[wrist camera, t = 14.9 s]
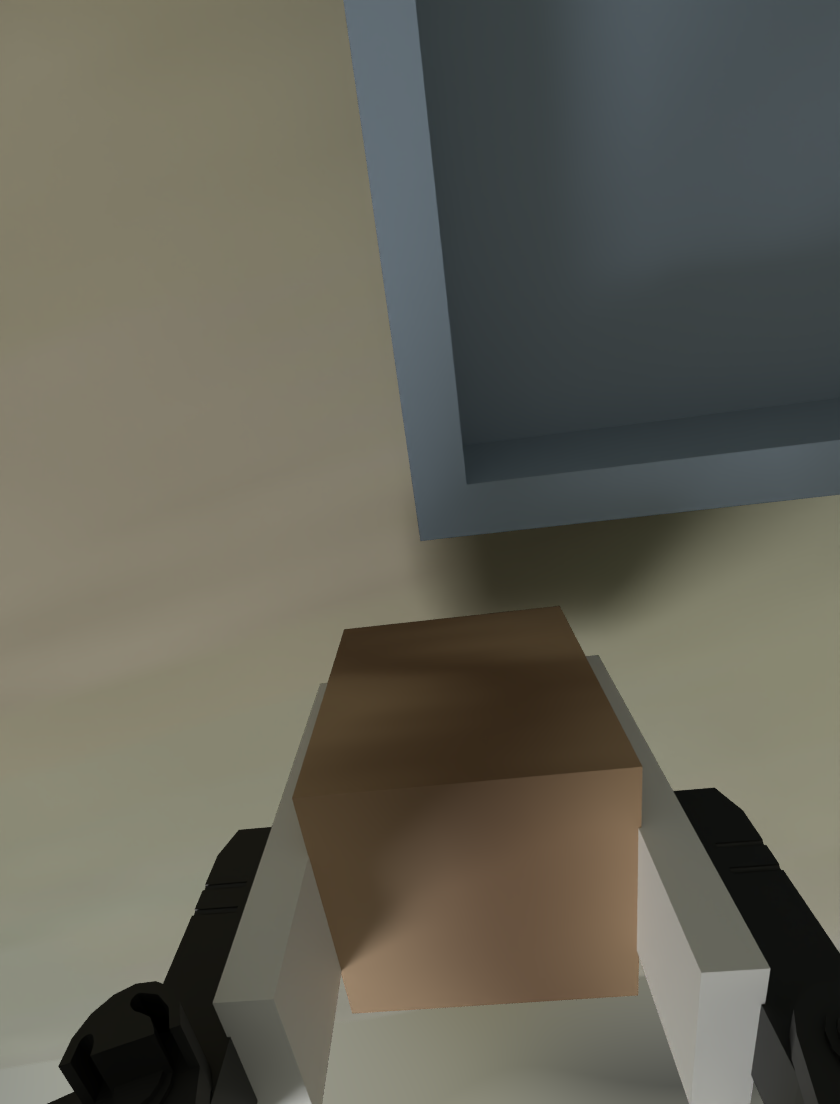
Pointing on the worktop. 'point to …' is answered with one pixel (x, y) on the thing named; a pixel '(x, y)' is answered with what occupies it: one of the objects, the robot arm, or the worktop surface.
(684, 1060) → the robot arm
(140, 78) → the worktop surface
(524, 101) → the tote
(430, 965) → the brown wooden cube
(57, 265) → the worktop surface
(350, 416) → the worktop surface
